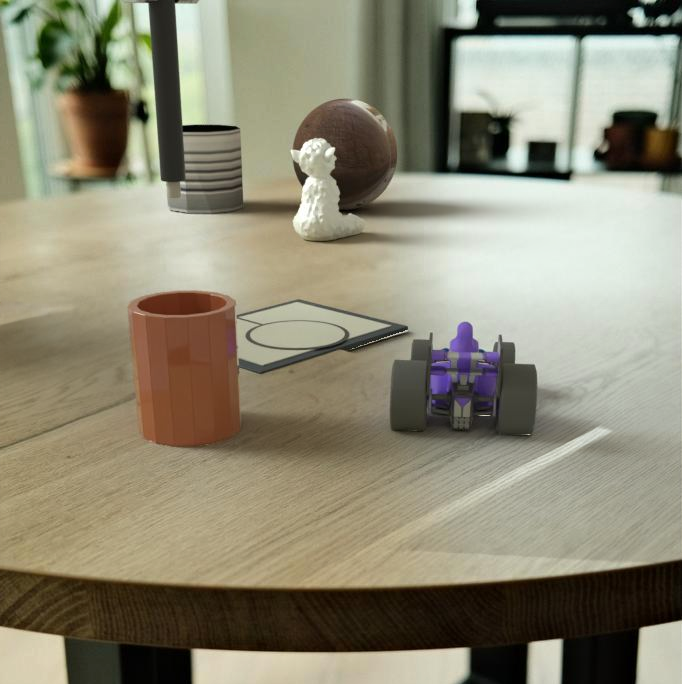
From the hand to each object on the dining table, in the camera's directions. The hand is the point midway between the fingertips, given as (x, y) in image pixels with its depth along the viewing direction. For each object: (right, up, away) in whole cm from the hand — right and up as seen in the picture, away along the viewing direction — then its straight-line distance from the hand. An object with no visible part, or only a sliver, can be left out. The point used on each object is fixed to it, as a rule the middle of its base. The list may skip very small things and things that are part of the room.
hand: (161, 3), depth 58 cm
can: (-10, +16, +93) cm, 95 cm away
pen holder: (0, -23, +12) cm, 26 cm away
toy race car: (+19, -21, +17) cm, 33 cm away
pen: (0, -9, +5) cm, 11 cm away
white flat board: (+5, -13, +32) cm, 35 cm away
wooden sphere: (+11, +15, +91) cm, 93 cm away
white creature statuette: (+8, +6, +73) cm, 74 cm away
